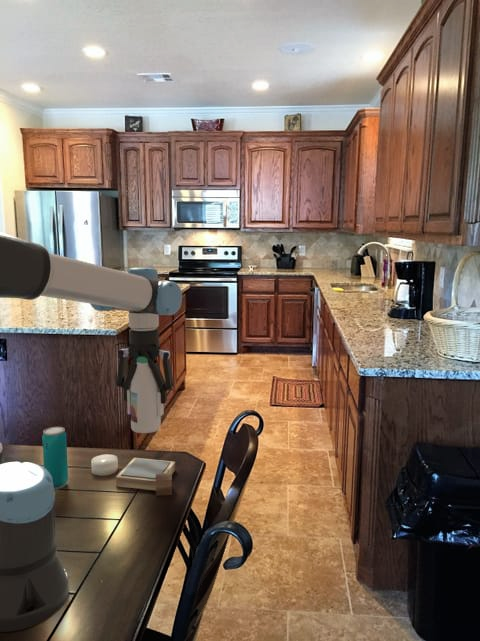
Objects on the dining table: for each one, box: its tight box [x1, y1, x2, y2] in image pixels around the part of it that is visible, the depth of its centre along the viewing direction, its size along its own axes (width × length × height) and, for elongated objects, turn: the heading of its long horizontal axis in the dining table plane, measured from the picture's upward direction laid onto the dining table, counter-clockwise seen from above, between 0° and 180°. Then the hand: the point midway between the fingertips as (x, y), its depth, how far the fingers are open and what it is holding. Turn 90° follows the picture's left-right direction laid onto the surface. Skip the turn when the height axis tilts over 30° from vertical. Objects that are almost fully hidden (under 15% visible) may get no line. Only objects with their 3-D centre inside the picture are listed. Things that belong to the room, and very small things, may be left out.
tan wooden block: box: [155, 472, 173, 497], centre depth 126 cm, size 4×4×4 cm
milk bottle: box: [130, 356, 162, 434], centre depth 130 cm, size 8×8×20 cm
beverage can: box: [41, 426, 69, 491], centre depth 127 cm, size 6×6×15 cm
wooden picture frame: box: [115, 457, 176, 491], centre depth 133 cm, size 12×12×3 cm
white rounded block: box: [90, 453, 119, 477], centre depth 137 cm, size 7×7×3 cm
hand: (145, 413), depth 130 cm, fingers closed on milk bottle, 8 cm apart
